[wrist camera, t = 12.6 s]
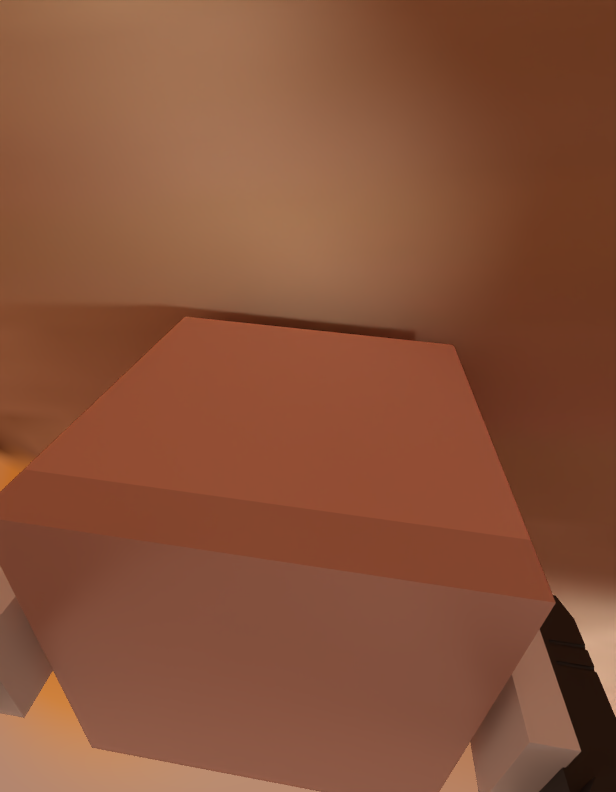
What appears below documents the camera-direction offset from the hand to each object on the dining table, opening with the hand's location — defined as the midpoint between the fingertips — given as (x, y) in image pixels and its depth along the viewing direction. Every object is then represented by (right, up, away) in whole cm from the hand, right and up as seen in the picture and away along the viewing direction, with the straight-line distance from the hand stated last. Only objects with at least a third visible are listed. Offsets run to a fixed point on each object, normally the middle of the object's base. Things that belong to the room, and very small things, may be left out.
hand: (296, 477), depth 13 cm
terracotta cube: (0, +1, +2) cm, 2 cm away
